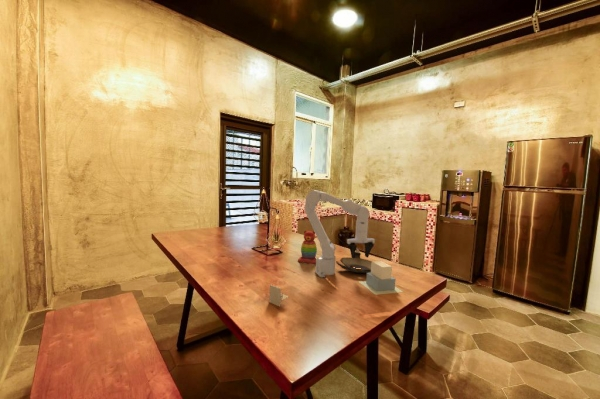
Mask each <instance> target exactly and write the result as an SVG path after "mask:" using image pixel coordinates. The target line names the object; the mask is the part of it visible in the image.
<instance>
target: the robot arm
mask: <svg viewBox="0 0 600 399" xmlns="http://www.w3.org/2000/svg"><path fill="white" fill-rule="evenodd" d="M319 202H329V203H331V204H334V205H336V206H339V207H341V209H342V211H343V212H346V213H348V214H350V215H353V216H356V221H355V236H354V237H355V238H346V243H347V246H348V249H349V251H350V256H351V257H350V258H355V252H356V249H357V245H356V244H364V257H365V258H369V256H370V253H371V251H372V249H373V248H374V246H375V243H376V242H375V240H376V239H375V238H371V237H368V232H369V231H368V230H369V229H368V228H369V221H368V220H369V217H370V211H369V209H368V208H367V207H366V206H364V205H362V203H357V202H355V201H353V200H352V199H345V200H343V199H341V198H338V197H336V196H334V195H332V194H330V193H328V192H325V191H321V190H318V189H312V190H311V191H309V192H308V193H307V194H306V197H305V203H304V212H305V214H306V216H307V218H308V220H309V224H310V225H311V227H312V230H313V231H314V232H315V236H316V237H317V239H318V242H319V245H320V248H321V256H320V257H316V264H315V271H314V273H316V275H317V276H318V277H320V278H326V277H327V276H332V275H333V276H334V275H335V273H336V272H335V271H336V270H335V269H336V255H335V254H336V253H335V252H336V245H335V244H334V243H332V241H331V239H330V238H329V237H328V234H327V233H326V231H325V228H324V226H323V224H322V222H321V220H320V218H319V216H318V213H317V212H316V207H317V205H318V203H319Z"/></svg>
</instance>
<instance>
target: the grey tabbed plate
mask: <svg viewBox="0 0 600 399" xmlns="http://www.w3.org/2000/svg"><path fill="white" fill-rule="evenodd" d="M268 297H269V300H268V302H269V303H270V304H273V305H276V306H277V307H279V308H280V307H281V301H284V300H286V299H288V298H289V295H286V294H285V293H283V292H282V289H281V287H280V285H278V286H275V285H272V284H269V296H268Z"/></svg>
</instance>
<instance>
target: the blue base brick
mask: <svg viewBox="0 0 600 399" xmlns="http://www.w3.org/2000/svg"><path fill="white" fill-rule="evenodd" d="M365 281H366V284H368V285H369V286H370V287H372V288H373V289H374V290H376V291H377V292H379V291H388V290H395V287H396V278H394V277H393V276H392V275H391V279H384V280H381V279H380V278H378V277H376V276H375V275H373V274H371V272H368V273H366V280H365Z"/></svg>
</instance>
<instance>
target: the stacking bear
mask: <svg viewBox="0 0 600 399" xmlns="http://www.w3.org/2000/svg"><path fill="white" fill-rule="evenodd" d="M315 238H316V233H315V231H314V230H313V231H311V230H304V231H303V241H302V244H301V247H300V252H301V253H300V254H301V256H300V257H299V258H298V259H297V262H298V263H305V264H311V265H316V259H317V257H316V256H317V253H318V248H317V243H316V241H315Z"/></svg>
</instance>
